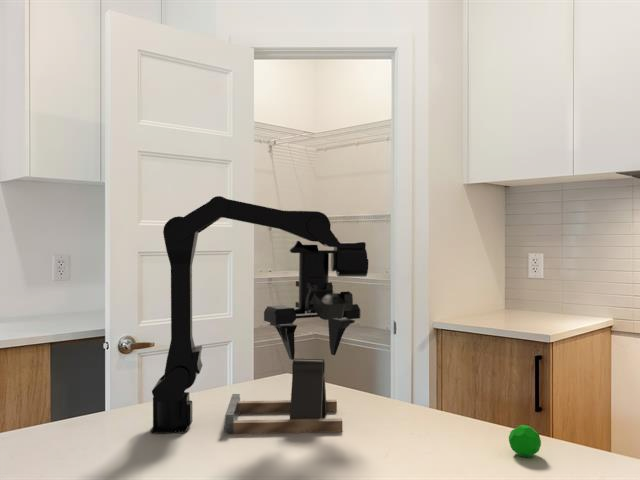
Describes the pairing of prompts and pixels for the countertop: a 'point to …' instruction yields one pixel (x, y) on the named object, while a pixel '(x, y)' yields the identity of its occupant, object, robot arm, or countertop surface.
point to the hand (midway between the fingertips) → (312, 357)
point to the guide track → (282, 424)
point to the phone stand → (308, 389)
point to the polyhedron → (524, 441)
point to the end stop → (232, 412)
